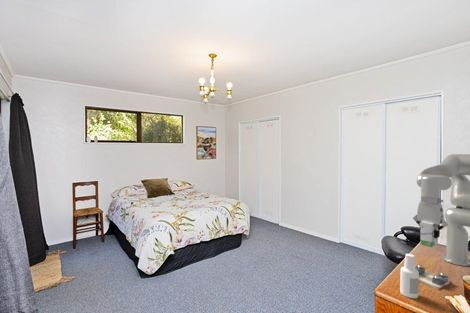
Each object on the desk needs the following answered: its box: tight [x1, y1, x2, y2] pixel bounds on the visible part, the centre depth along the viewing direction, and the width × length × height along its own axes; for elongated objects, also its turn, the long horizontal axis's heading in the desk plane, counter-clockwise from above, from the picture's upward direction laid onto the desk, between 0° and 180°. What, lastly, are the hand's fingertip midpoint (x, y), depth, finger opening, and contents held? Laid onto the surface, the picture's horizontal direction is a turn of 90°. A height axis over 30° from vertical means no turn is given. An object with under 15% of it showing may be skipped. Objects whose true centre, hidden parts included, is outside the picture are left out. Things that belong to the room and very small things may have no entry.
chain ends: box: [415, 264, 449, 286], centre depth 127 cm, size 9×13×3 cm
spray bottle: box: [399, 253, 420, 299], centre depth 114 cm, size 7×7×18 cm
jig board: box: [419, 270, 452, 290], centre depth 127 cm, size 14×14×1 cm
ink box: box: [419, 221, 439, 248], centre depth 127 cm, size 8×5×12 cm, turn 124°
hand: (429, 235), depth 127 cm, fingers closed on ink box, 5 cm apart
